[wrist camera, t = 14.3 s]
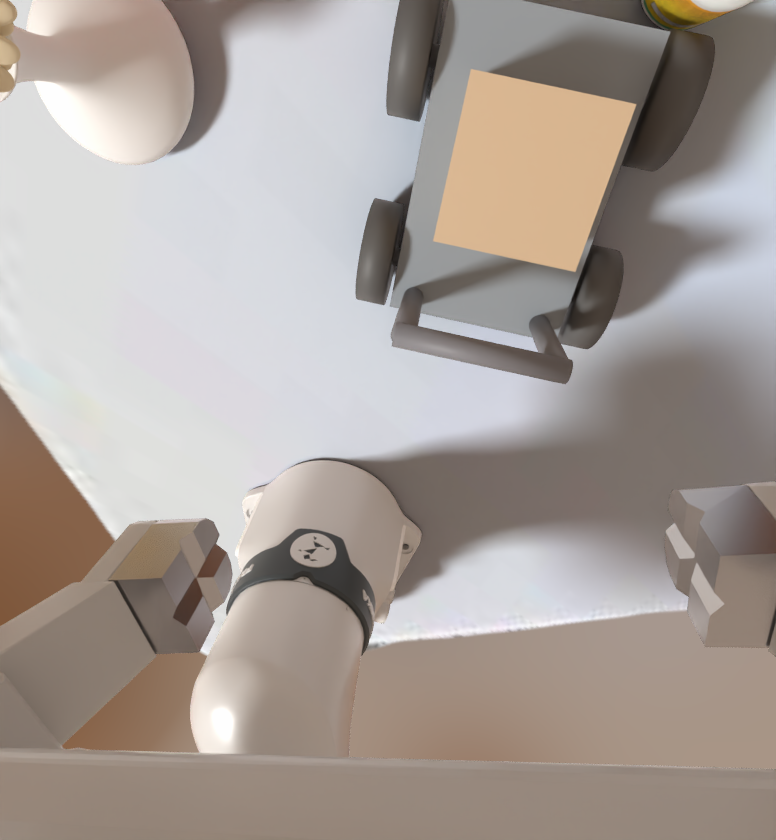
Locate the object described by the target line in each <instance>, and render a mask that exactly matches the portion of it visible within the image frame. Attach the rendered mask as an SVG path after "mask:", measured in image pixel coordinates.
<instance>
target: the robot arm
mask: <svg viewBox="0 0 776 840" xmlns="http://www.w3.org/2000/svg"><path fill="white" fill-rule="evenodd" d="M242 506H243V511H244V516H245V522H246V527H245V529H244V531H243V534H242V536H241V538H240V540H239V543H238V545H237V548H236V552H235V555H236V556H237V557H238V564H239V568H240V571H241V574H240V576H239V577H238V578H237V580H236V582H235V584H234V586H233V589H232V591H231V596H230V599H229V601H228V604H227V609H226V614H227V617H226V619H225V621H224V623H223V625H222V627H221V629H220V632H219V634H218V636H217V638H216V640H215V642H214V644H213V646H212V648H211V650H210V653H209V655H208V657H207V659H206V661H205V663H204V665H203V667H202V669H201V671H200V673H199V676H198V678H197V680H196V682H195V685H194V689H193V694H192V699H191V707H190V719H191V727H192V732H193V736H194V739H195V742H196V745H197V748H198V750H199V753H184V752H149V751H114V750H87V749H83V748H74V749H63V747H62V745H63V744H64V743H65V742H66V741H67V740H68V739H69V738H70V737H71V736H72V735H73V734H74V733H75V732H77V731H78V730H79V729H80V728H81V727H82V726H83V725H84V724H85V723H86V722H87V721H88V720H89V719H91V718H92V717H93V716H94V715H95V714H96V713H97V712H98V711H99V710H100V709H101V708H102V707H103V706H104V705H105V704H106V703H108V701H110V700H111V699H112V698H113V697H114V696H115V695H116V694H117V693H118V692H119V691H120V690H121V689H122V688H123V687H124V686H126V685H127V684H128V683H129V682H130V681H131V680H132V679H133V678H134V677H135V676H136V675H137V674H138V673H139V672H140V671H141V670H142V669H144V668H145V667H146V666H147V665H148V664H149V663H150V662H151V661H152V660H153V659H154V658H155V657H156V654H169V653H193V652H199V651H200V650H201V648H202V646H203V644H204V642H205V640H206V638H207V636H208V634H209V632H210V630H211V628H212V626H213V624H214V622H215V621H214V618H213V614H212V611H214V610H215V609H216V608H217V607H219V606H220V605H221V604H222V603H224V602H225V600H226V597H227V595H228V593H229V591H230V587H231V581H232V567H231V562H230V559H229V557H228V554H227V552H226V551H224V550H223V549H222V548H220V547H219V546H218V545H217V544H216V542H217V540H218V538H219V532H218V530H217V528H216V526H215V524H214V522H213V521H211V520H209V519H206V518H202V519H176V520H160V521H138V522H135V523H133V524H130V525H129V526H128V527H127V528H126V530H125V531H124V532H123V533H122V534H121V535H120V537H119V538H118V539H117V540H116V541H115V542H114V544H113V545H112V546H111V547H110V548H109V550H108V551H107V552H106V553H105V554H104V555H103V557H102V558H101V559H100V560H99V561H98V562H97V564H96V565H95V566H94V567H93V568H92V569H91V571H90V572H89V573H88V574H87V575H86V577H85V578H84V579H83V580H82V582H80V583H72V584H70V585H69V586H67V587H65V588H64V589H62V590H60V591H59V592H57V593H55V594H54V595H52V596H50V597H49V598H47V599H45V600H44V601H42V602H40V603H39V604H37V605H35V606H34V607H32V608H31V609H29V610H27V611H26V612H24V613H22V614H21V615H19V616H17V617H15V618H14V619H12V620H10V621H9V622H7V623H5V624H4V625H2V626H0V840H776V769H752V768H751V769H750V768H717V767H682V766H644V765H607V764H571V763H569V764H568V763H533V762H496V761H495V762H494V761H459V760H423V759H422V760H421V759H388V758H356V757H349V746H350V745H349V742H350V726H351V719H352V711H353V704H354V698H355V691H356V684H357V678H358V672H359V665H360V659H361V656H362V655H363V653H364V652H365V650H366V648H367V646H368V643H369V639H370V637H371V634H372V631H373V626H374V621H375V622H378V623H381V624H382V623H385V621H386V619H387V616H388V613H389V609H390V604H391V603H392V601H393V598H394V595H395V590H394V589H395V585H396V583H397V581H398V580H399V578H400V576H401V575H402V573H403V571H404V570H405V568H406V566H407V565H408V563H409V561H410V559H411V558H412V556H413V554H414V553H415V551H416V549H417V548H418V546H419V544H420V541H421V537H422V533H421V531H420V529H419V528H418V527H417V526H416V525H415V524H414V523H413V522H412V521H410V520H409V519H408V518H407V517H406V516H404V514H403V513H402V511H401V510H400V508H399V506H398V504H397V502H396V500H395V498H394V496H393V495H392V493H391V492H390V491H389V490H388V488H387V487H386V486H385V485H384V484H383V483H382V482H380V481H379V480H378V479H377V478H376V477H374V476H373V475H371V474H370V473H368V472H366V471H364V470H362V469H360V468H358V467H355V466H353V465H350V464H346V463H342V462H337V461H328V460H318V461H309V462H305V463H301V464H298V465H295V466H293V467H291V468H289V469H287V470H286V471H284V472H283V473H281V474H280V475H279V476H278V477H277V478H276V479H275V480H273V481H272V482H271V483H270V484H268V485H265V486H262V487H258V488H255V489H252V490H250V491H248V492H247V493H246V494H245V496H244V499H243V502H242ZM668 511H669V513H670V515H671V517H672V519H673V521H674V523H673V524H672V525H671V526H670V527H669V528H668V529H667V530H666V531H665V545H664V548H665V556H666V563H667V567H668V570H669V573H670V576H671V578H672V581H673V583H674V585H675V587H676V589H678V590H679V591H681V592H682V593H684V594H685V595H687V596H688V597H689V599H688V607H687V612H688V614H689V616H690V618H691V620H692V622H693V624H694V626H695V628H696V630H697V632H698V634H699V636H700V638H701V640H702V642H703V644H704V646H705V647H741V648H744V647H745V648H769V652H771V653H772V654H773V655H774V656H776V481H771V482H759V483H748V484H741V485H736V486H721V487H706V488H691V489H675V490H672V492H671V494H670V497H669V503H668ZM404 544H408V545H404Z"/></svg>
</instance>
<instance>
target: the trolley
mask: <svg viewBox="0 0 776 840" xmlns="http://www.w3.org/2000/svg"><path fill="white" fill-rule="evenodd" d="M443 2H444V0H400V2H399V7H398V12H397V17H396V23H395V28H394V35H393V41H392V48H391V55H390V63H389V72H388V83H387V99H386V106H387V114H388V115H391V116H395V117H400V118H405V119H409V120H414V121H420V119H421V117H422V113H423V110H424V106H425V102H426V97H427V93H428V88H429V83H430V79H431V74H432V69H433V68H434V69H435V73H434V78H433V84H432V89H431V94H430V99H429V105H428V110H427V115H426V120H425V125H424V131H423V136H422V141H421V146H420V152H419V157H418V162H417V167H416V172H415V178H414V183H413V188H412V193H411V198H410V204H409V209H408V214H407V219H406V225H405V230H404V235H403V240H402V245H401V249H400V248H399V243H400V237H401V231H402V225H403V218H404V208H405V206H404V204H400V203H395V202H391V201H386V200H381V199H377V198H375V199H374V201H373V203H372V205H371V208H370V211H369V215H368V218H367V222H366V226H365V230H364V235H363V240H362V245H361V250H360V256H359V262H358V270H357V278H356V298H357V299H358V300H363V301H367V302H372V303H376V304H381V305H385V303H386V300H387V296H388V293H389V289H390V285H391V281H392V277H393V272H394V268H395V266H397V271H396V277H395V282H394V287H393V292H392V298H391V303H390V307H395V308H399V310H398V313H397V316H396V319H395V323H394V326H393V329H392V332H391V339H392V341H393V342H392V346H393V347H397V348H402V349H406V350H411V351H416V352H420V353H425V354H429V355H434V356H438V357H443V358H448V359H452V360H457V361H461V362H466V363H470V364H475V365H480V366H484V367H489V368H493V369H498V370H502V371H507V372H512V373H516V374H521V375H525V376H530V377H534V378H539V379H544V380H548V381H553V382H557V383H562V384H566V383H567V382H568V380H569V378H570V376H571V373H572V368H573V362H572V360H570V359H568V357H567V355H566V353H565V351H564V349H563V347H562V345H561V344H564V345H569V346H574V347H578V348H583V349H589V348H591V347H592V346H593V345H594V344H595V343H596V342H597V341H598V340H599V339H600V337H601V336H602V334H603V333H604V331H605V329H606V327H607V325H608V323H609V321H610V319H611V317H612V314H613V312H614V309H615V306H616V303H617V300H618V297H619V293H620V289H621V284H622V278H623V258H622V255H621V253H620V252H619V251H617V250H613V249H608V248H604V247H599V246H594V245H592V242H593V239H594V237H595V234H596V231H597V229H598V226H599V223H600V221H601V218H602V215H603V212H604V210H605V207H606V204H607V202H608V199H609V196H610V194H611V191H612V188H613V186H614V183H615V180H616V177H617V175H618V172H619V169H620V167H621V165H624V166H629V167H633V168H638V169H643V170H647V171H655V170H657V169H659V168H660V167H661V166H663V165H664V164H665V163H666V162H667V161H668V159H669V158H670V157H671V156H672V155H673V153H674V152H675V150H676V149H677V148H678V146H679V144H680V143H681V141H682V140H683V138H684V136H685V135H686V133H687V131H688V129H689V127H690V125H691V124H692V121H693V119H694V117H695V115H696V113H697V111H698V109H699V106H700V104H701V101H702V99H703V96H704V94H705V91H706V88H707V85H708V82H709V79H710V75H711V71H712V67H713V62H714V54H715V45H714V41H713V38H712V37H711V36H707V35H702V34H697V33H693V32H688V31H683V30H678V29H674V28H672V29H669V30H668V31H665V30H661V29H656V28H651V27H646V26H642V25H637V24H632V23H628V22H623V21H618V20H613V19H609V18H604V17H599V16H594V15H590V14H585V13H580V12H575V11H571V10H566V9H561V8H557V7H552V6H547V5H542V4H538V3H533V2H528V1H523V0H448V5H447V11H446V16H445V21H444V26H443V32H442V37H441V42H440V45H439V44H437V41H438V35H439V29H440V23H441V17H442V10H443ZM420 313H423V314H427V315H432V316H436V317H441V318H446V319H450V320H455V321H459V322H464V323H468V324H473V325H478V326H482V327H487V328H491V329H496V330H501V331H505V332H510V333H514V334H519V335H523V336H528V337H533V339H534V342H535V345H536V347H537V350H538V352H533V351H529V350H524V349H519V348H515V347H510V346H506V345H501V344H497V343H492V342H487V341H483V340H478V339H474V338H469V337H464V336H460V335H455V334H451V333H446V332H442V331H437V330H432V329H428V328H423V327H419V326H418V322H419V317H420Z"/></svg>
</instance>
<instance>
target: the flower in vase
mask: <svg viewBox="0 0 776 840" xmlns="http://www.w3.org/2000/svg"><path fill="white" fill-rule="evenodd" d="M16 17H17V10H16V8H15V6H14V5H13V4H12V3H11V2H10V1H9V0H0V102H2V101H3V100H5V99H6V98H7V97H8V96H9V95H10V94H11V93H12V91H13V89H14V87H15V85H16V83H20V82H26V81H34V82H35V85H36V87H37V90H38V92H39V94H40V96H41V98H42V100H43V102H44V104H45V105H46V107H47V109H48V110H49V112H50V113H51V115H52V116H53V117H54V119H55V120H56V122H57V123H58V124H59V125H60V126H61V127H62V129H63V130H64V131H65V132H66V133H67V134H68V135H69V136H70V137H71V138H73V139H74V140H75V141H76V142H78V143H79V144H80V145H81V146H83V147H85V148H86V149H88V150H89V151H91V152H93V153H94V154H96V155H98V156H100V157H102V158H104V159H106V160H109V161H112V162H115V163H120V164H125V165H140V164H146V163H150V162H153V161H156V160H158V159H160V158H162V157H163V156H165V155H166V154H167V153H169V152H170V151H171V150H172V149H173V148H174V147H175V146H176V145H177V143H178V142H179V141H180V139H181V138H182V136H183V134H184V132H185V130H186V129H187V126H188V123H189V120H190V118H191V113H192V108H193V101H194V77H193V69H192V64H191V60H190V55H189V52H188V49H187V46H186V43H185V40H184V38H183V35H182V33H181V31H180V29H179V27H178V25H177V23H176V21H175V20H174V18H173V16H172V14H171V13H170V12H169V10H168V9H167V7H166V6H165V5H164V3H163V2H162V1H161V0H33V2H32V5H31V8H30V11H29V15H28V21H27V30H23V29H21V28H18V27H16V26H14V24H13V21H14V20H15V19H16Z"/></svg>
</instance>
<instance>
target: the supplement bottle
mask: <svg viewBox="0 0 776 840" xmlns="http://www.w3.org/2000/svg"><path fill="white" fill-rule="evenodd" d="M752 1H754V0H641V3H642V6H643V9H644V11H645V13H646V14H647V16H648V17H649V18H650V20H651V21H652V22H653V23H655V24H656V25H657V26H659V27H661V28H663V29H666V30H669V29H672V28H674V29H678V30H687V29H690V28H693V27H695V26H698V25H700V24H703V23H705V22H708V21H710V20H712V19H715V18H717V17H719V16H722V15H724V14H726V13H729V12H731V11H733V10H736V9H738V8H741V7H743V6H745V5H747V4H749V3H750V2H752Z"/></svg>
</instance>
